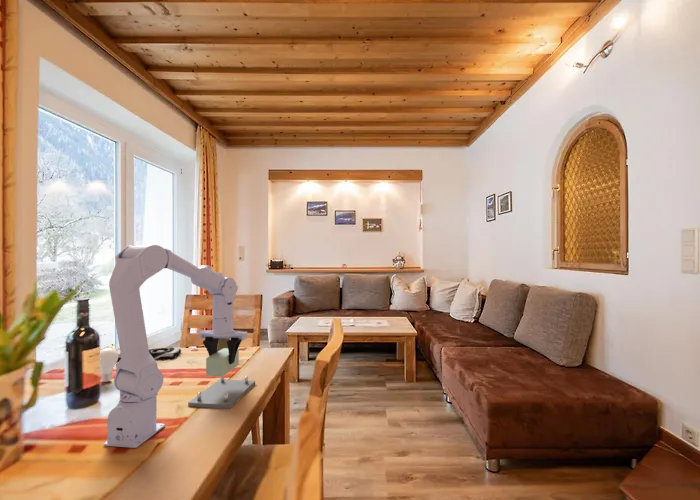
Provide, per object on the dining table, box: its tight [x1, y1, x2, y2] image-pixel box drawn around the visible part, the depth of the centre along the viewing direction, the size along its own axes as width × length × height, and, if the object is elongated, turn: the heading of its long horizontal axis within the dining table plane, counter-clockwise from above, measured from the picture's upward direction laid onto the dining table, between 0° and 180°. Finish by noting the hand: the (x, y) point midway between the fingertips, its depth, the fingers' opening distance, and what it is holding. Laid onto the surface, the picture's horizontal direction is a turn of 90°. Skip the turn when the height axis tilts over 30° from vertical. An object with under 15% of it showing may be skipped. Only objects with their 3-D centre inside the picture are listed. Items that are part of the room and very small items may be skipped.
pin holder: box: [187, 375, 256, 410], centre depth 99 cm, size 17×12×3 cm
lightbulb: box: [99, 347, 119, 383], centre depth 108 cm, size 6×6×11 cm
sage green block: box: [205, 348, 240, 377], centre depth 99 cm, size 10×5×5 cm, turn 173°
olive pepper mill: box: [217, 338, 231, 352], centre depth 133 cm, size 6×6×11 cm
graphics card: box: [115, 347, 182, 363], centre depth 134 cm, size 10×3×25 cm
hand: (222, 362), depth 99 cm, fingers closed on sage green block, 5 cm apart
